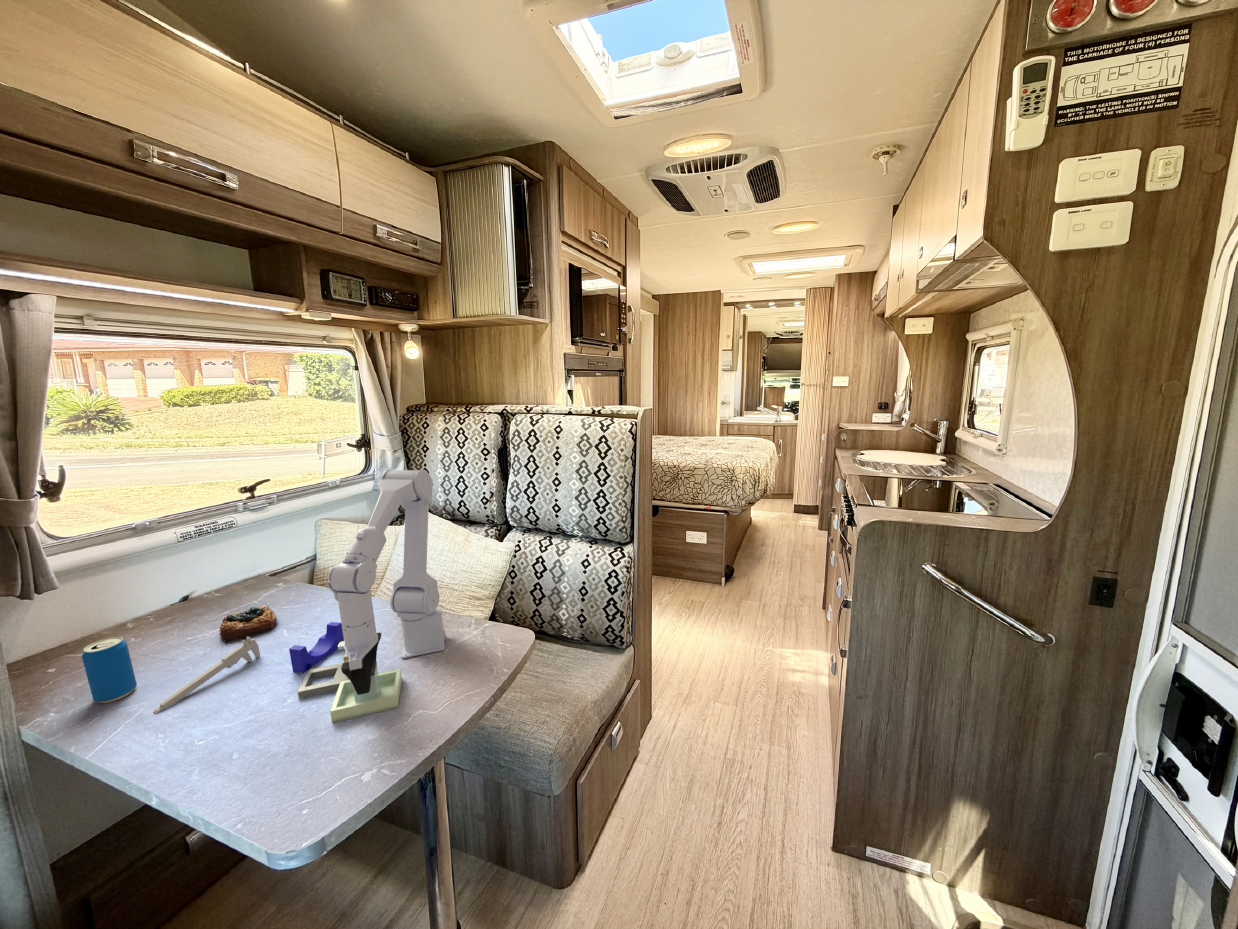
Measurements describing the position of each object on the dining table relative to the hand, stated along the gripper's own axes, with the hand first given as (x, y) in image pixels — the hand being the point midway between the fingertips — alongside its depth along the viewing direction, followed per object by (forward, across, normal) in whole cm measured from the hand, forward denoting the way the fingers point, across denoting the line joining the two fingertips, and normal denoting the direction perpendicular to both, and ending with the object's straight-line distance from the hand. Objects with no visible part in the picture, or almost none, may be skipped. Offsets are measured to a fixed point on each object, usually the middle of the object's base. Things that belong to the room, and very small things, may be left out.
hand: (366, 681), depth 96 cm
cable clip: (+5, -22, -14) cm, 27 cm away
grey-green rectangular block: (+4, 0, 0) cm, 4 cm away
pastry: (+5, -44, -35) cm, 57 cm away
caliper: (+5, -20, -34) cm, 40 cm away
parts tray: (+4, 0, 0) cm, 4 cm away
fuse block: (+4, -10, -8) cm, 13 cm away
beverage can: (+4, -22, -52) cm, 57 cm away
